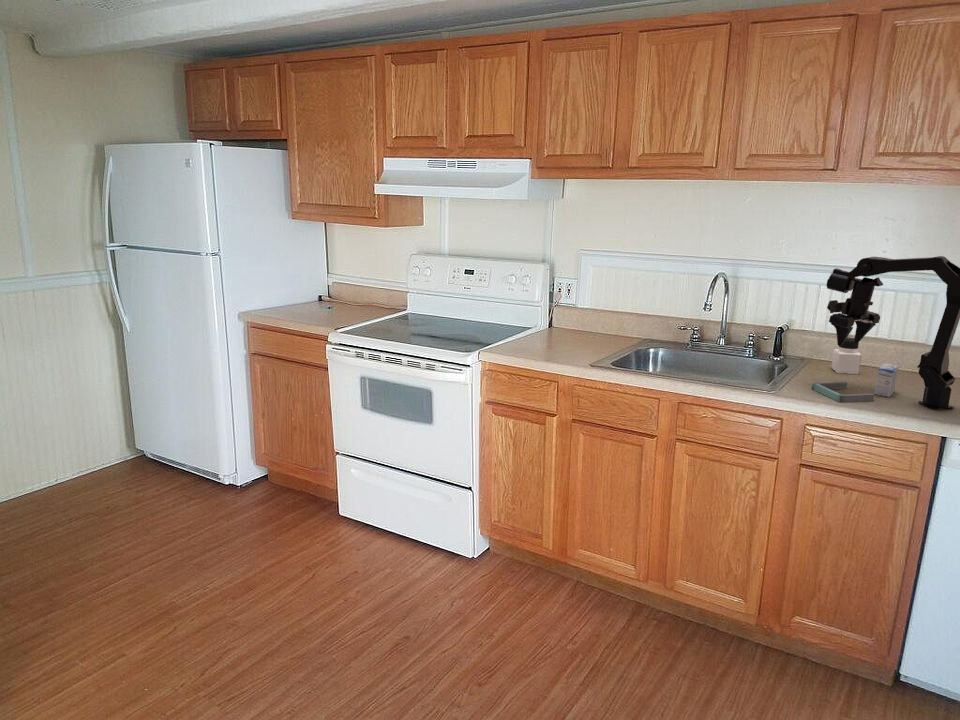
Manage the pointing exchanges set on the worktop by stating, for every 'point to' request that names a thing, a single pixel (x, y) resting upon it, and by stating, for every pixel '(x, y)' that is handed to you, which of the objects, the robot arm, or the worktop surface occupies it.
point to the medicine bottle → (847, 357)
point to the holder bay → (825, 389)
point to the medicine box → (886, 380)
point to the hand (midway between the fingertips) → (847, 344)
